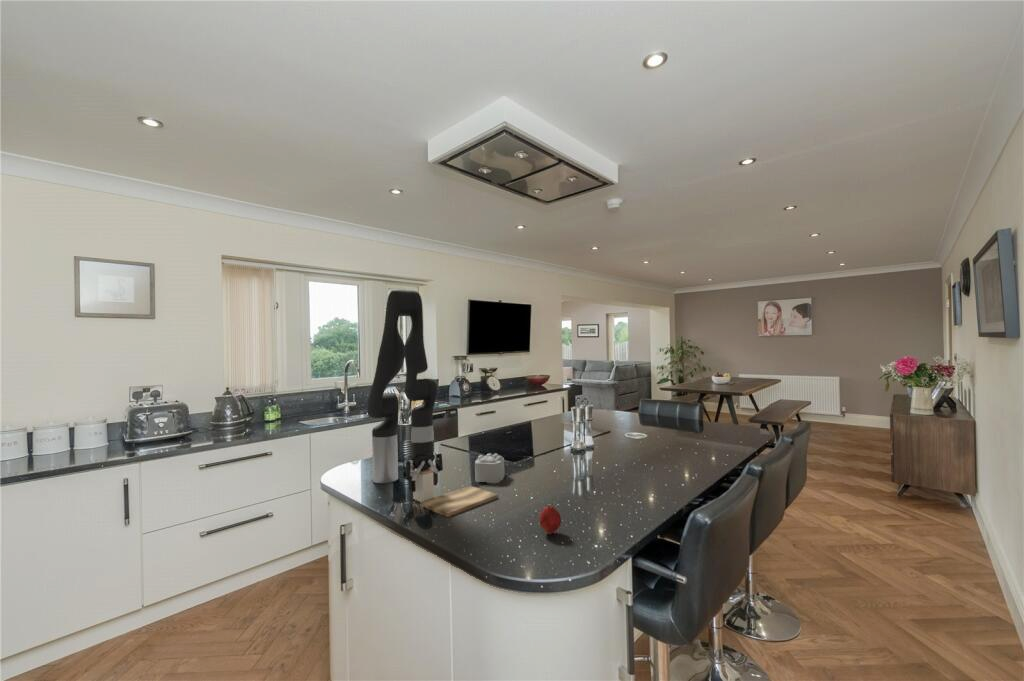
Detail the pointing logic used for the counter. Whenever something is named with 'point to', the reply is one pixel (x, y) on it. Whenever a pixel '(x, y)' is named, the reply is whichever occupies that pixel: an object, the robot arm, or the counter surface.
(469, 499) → the board
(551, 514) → the red strawberry
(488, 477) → the paw stamp
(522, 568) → the counter surface
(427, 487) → the block
